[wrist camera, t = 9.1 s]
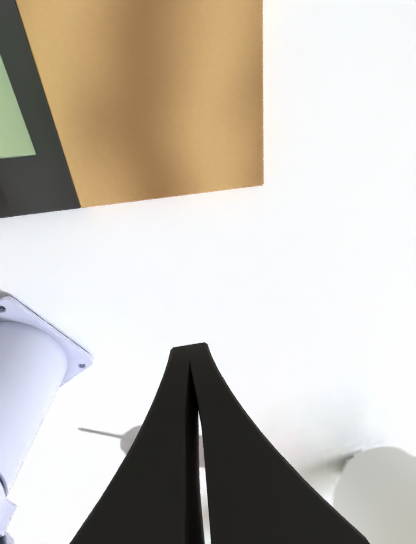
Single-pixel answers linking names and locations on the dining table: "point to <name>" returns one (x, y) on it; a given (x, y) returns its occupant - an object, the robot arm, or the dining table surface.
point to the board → (132, 100)
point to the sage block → (12, 122)
